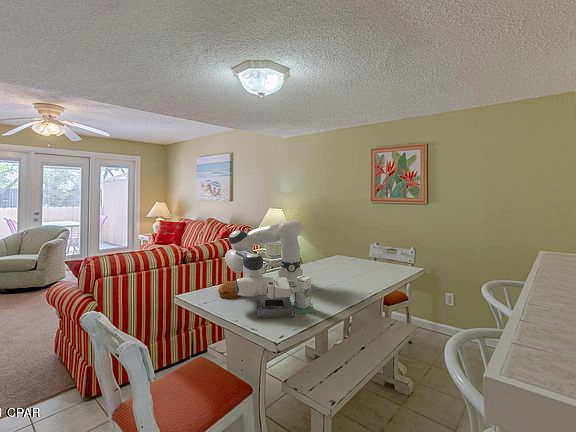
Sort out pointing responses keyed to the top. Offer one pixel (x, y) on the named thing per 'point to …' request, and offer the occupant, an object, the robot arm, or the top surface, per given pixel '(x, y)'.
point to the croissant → (228, 290)
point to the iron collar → (274, 308)
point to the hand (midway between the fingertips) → (298, 286)
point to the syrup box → (303, 292)
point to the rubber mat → (306, 310)
